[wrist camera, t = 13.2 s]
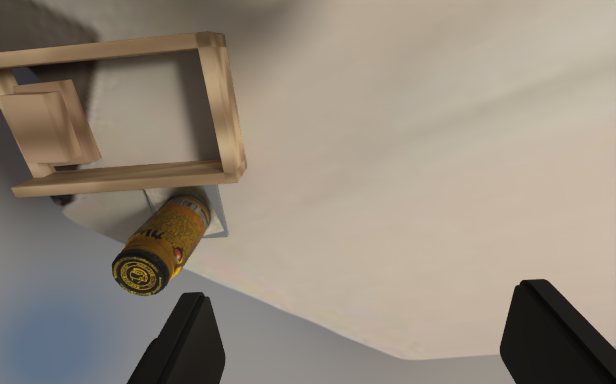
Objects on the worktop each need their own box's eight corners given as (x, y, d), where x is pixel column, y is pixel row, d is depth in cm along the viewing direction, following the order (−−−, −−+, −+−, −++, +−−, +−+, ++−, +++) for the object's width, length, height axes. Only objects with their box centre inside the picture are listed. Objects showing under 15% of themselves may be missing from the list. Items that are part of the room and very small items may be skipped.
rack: (-6, 57, 34) (-57, 58, 29) (223, 34, 32) (208, 31, 27) (51, 180, 39) (16, 197, 35) (247, 166, 38) (237, 182, 33)
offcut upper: (20, 92, 33) (-2, 95, 31) (60, 91, 33) (41, 94, 31) (45, 155, 36) (27, 163, 34) (82, 155, 36) (66, 162, 33)
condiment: (175, 242, 42) (124, 309, 31) (144, 186, 39) (75, 240, 28) (224, 230, 41) (190, 295, 30) (197, 171, 38) (147, 220, 27)
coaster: (143, 176, 39) (141, 178, 38) (214, 171, 38) (213, 173, 38) (163, 238, 42) (161, 240, 42) (228, 234, 42) (227, 236, 41)
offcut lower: (32, 83, 35) (12, 86, 33) (74, 79, 35) (57, 81, 32) (66, 159, 39) (50, 166, 36) (104, 156, 38) (90, 163, 36)
